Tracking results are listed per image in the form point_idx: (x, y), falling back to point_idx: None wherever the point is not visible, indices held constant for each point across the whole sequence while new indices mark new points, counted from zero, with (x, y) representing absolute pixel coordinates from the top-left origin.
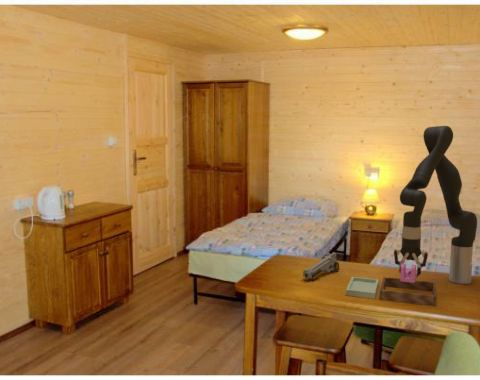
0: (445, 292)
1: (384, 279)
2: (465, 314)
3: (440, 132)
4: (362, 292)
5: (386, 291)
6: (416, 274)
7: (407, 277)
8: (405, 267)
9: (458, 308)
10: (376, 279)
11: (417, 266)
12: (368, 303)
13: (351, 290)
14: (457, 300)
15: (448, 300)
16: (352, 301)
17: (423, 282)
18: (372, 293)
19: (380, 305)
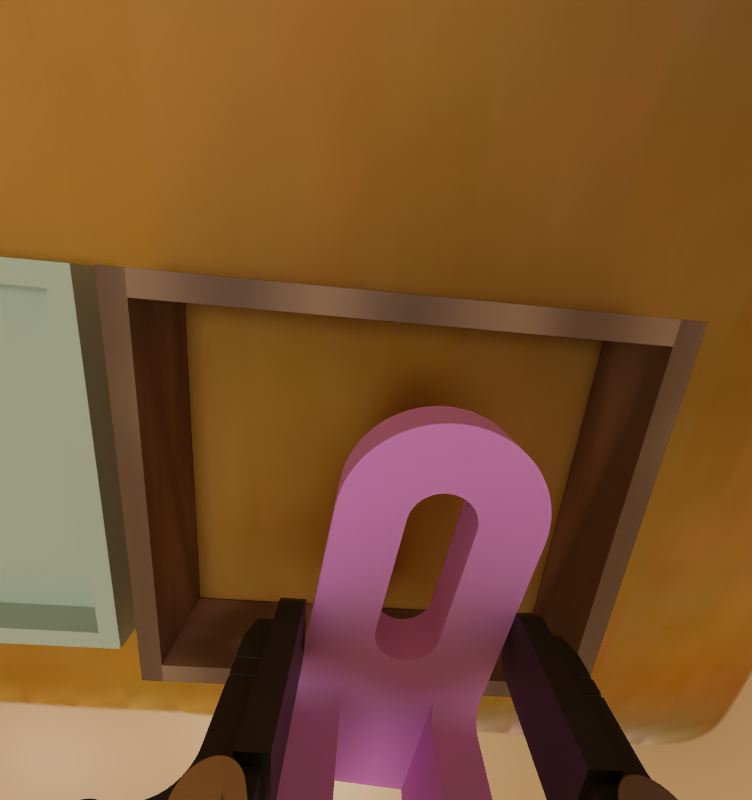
0: (714, 330)
1: (126, 374)
2: (683, 699)
3: None
4: (25, 637)
5: (199, 678)
6: (503, 625)
7: (365, 749)
8: None
9: (679, 630)
10: (43, 269)
11: (585, 775)
12: (126, 686)
13: None
14: (735, 495)
15: (667, 512)
16: (21, 681)
17: (566, 336)
18: (105, 643)
19: (204, 696)
